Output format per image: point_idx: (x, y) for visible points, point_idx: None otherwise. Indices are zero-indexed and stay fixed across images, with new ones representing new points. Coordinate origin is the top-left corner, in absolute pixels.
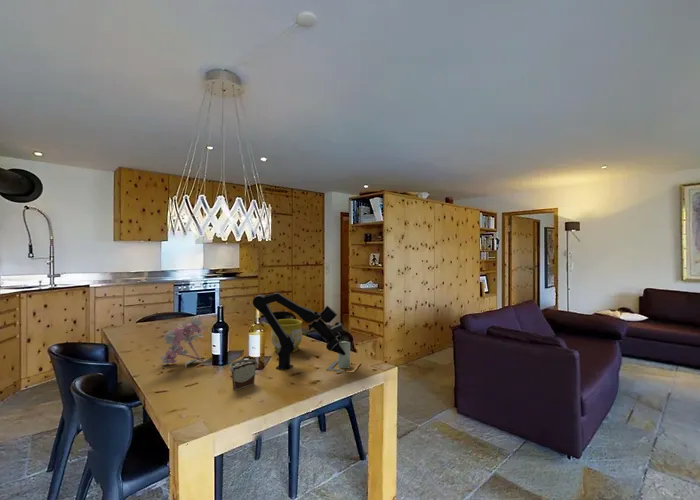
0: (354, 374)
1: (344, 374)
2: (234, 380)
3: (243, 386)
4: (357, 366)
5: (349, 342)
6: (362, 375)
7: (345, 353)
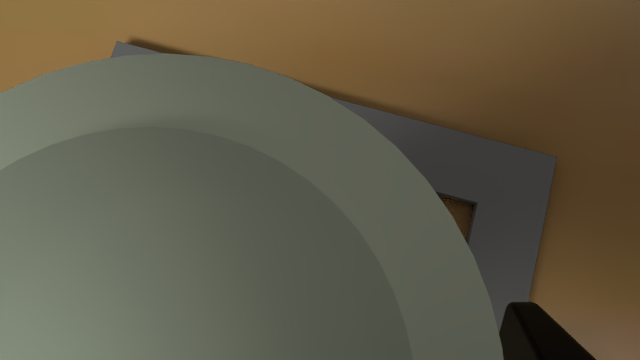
0: (603, 156)
1: (622, 312)
2: None
3: None
4: None
5: (83, 94)
6: (631, 45)
7: (516, 303)
